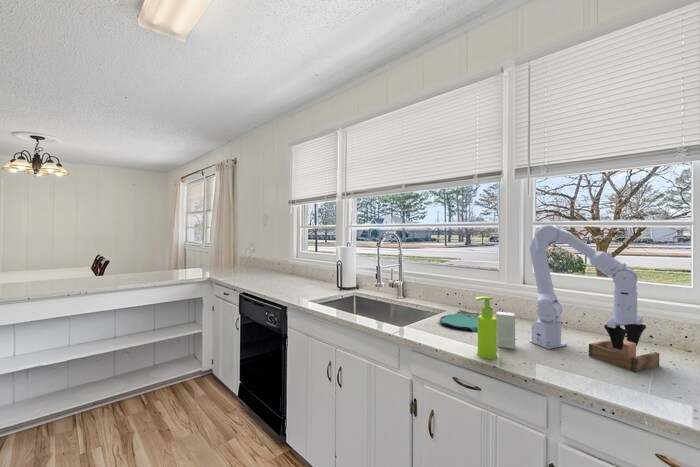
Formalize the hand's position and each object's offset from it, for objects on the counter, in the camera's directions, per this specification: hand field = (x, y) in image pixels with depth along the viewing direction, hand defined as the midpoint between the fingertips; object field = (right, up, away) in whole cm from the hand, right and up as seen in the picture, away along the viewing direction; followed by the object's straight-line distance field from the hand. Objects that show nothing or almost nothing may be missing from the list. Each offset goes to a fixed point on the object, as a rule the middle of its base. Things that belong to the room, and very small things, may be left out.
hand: (625, 347), depth 101 cm
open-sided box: (0, -4, 0) cm, 4 cm away
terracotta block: (0, -4, 0) cm, 4 cm away
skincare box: (-32, -5, +13) cm, 35 cm away
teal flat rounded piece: (-35, -4, +43) cm, 56 cm away
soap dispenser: (-43, -5, +5) cm, 44 cm away
